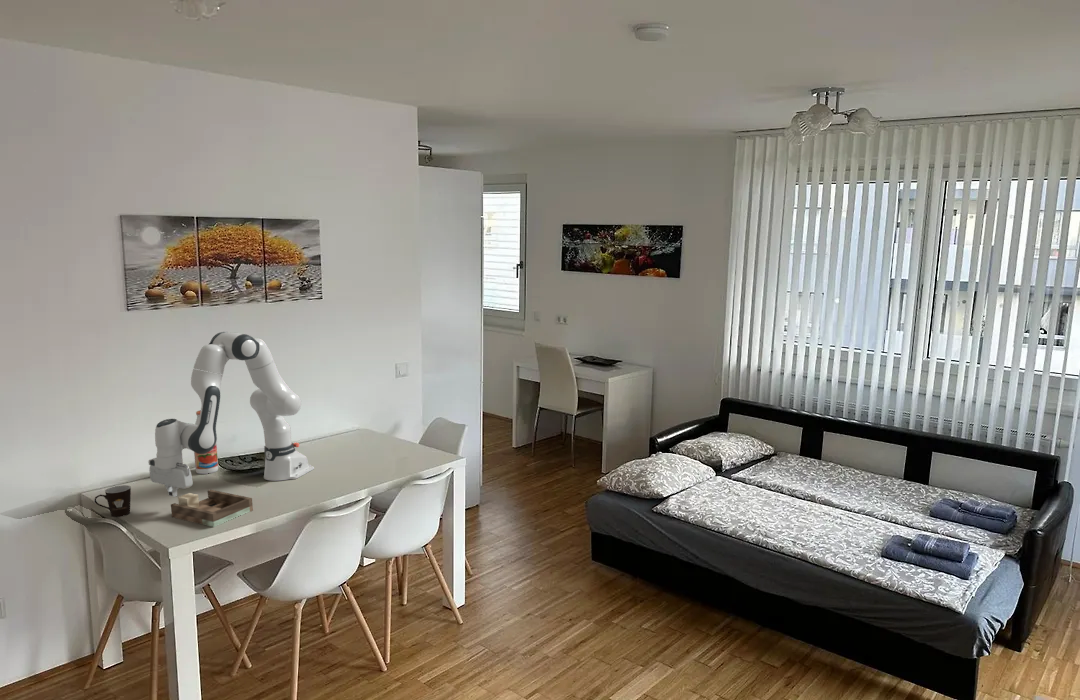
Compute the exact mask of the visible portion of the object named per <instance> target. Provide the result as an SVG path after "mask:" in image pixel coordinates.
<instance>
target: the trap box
mask: <svg viewBox="0 0 1080 700" xmlns="http://www.w3.org/2000/svg"><path fill="white" fill-rule="evenodd" d="M253 505H254V504H253V498H252V497H249V496H244V495H239V494H233V493H228V492H224V491H220V490H214V489H208V490H207V498H205V499H202V500H199V508H193V507H189V506H184V505H180V504H179V503H176V502H174V503H171V504H170V508H171V509H170V510H171V517H172V518H175V519H177V520H183V521H186V522H190V523H196V524H200V525H204V526H208V527H211V528H212V527H213V528H215V527H217V525H218V526H220V525H222V524H225V523H227V522H229V521H231V519H232V520H234V519H236V518H239V517H241V516H243V515H246V514H248V513H251V512H252V511H254V507H253ZM245 513H246V514H245ZM240 515H241V516H240ZM238 516H239V517H238ZM235 517H236V518H235ZM233 518H234V519H233ZM228 520H229V521H228ZM226 521H227V522H226ZM224 522H225V523H224Z"/></svg>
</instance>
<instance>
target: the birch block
mask: <svg viewBox="0 0 1080 700" xmlns="http://www.w3.org/2000/svg"><path fill="white" fill-rule="evenodd" d="M199 499H200V498H199V494H197V493H196V494H195V493H191V492H188V493H185V494H182V495H180V496H178V497H177V501H178V504H180V505H184V506H189V507H193V508H199V501H200V500H199Z"/></svg>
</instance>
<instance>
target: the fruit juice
mask: <svg viewBox="0 0 1080 700" xmlns="http://www.w3.org/2000/svg"><path fill="white" fill-rule="evenodd" d="M200 412H201V409H200V410H197V411H195V414H196V415H195V416H196V419H195V420H196V421H195V423H194V424H195V425H198V424H199V418H200ZM217 445H218V444H217V443H216V444H215V446H214V448H213V449H212V450H211V451H209V452H207V453H205V454H198V453H196V452H194V451H193V454H194V464H195V465H194V466H195V472H196V473H197V474H199V475H208V473H209V474H213V473H216V472H217V471H218V470H219V461H218V459H219V458H218V447H217Z"/></svg>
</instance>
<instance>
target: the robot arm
mask: <svg viewBox="0 0 1080 700" xmlns="http://www.w3.org/2000/svg"><path fill="white" fill-rule="evenodd" d="M229 360H237V361H244V362H245V364H246V368H247V371H248V372H249V376H250V379H251V380H252V383H253V384H254V386H255V387H256V388H258V389H255V390H254V391H253V392H252V393H251V395H250V398H249V404H250V407H251V408H252V409H253V410H254V411H255V413H256V414H257V416H258V418H259V420H260V423H261V426H262V430H263V436H264V437H263V438H264V446H263V447H264V448H263V449H264V452H263V453H264V456H265V459H264V460H265V462H264V473H263V474H264V475H263V480H267V481H272V482H274V481H276V482H277V481H285V480H296V479H298V478H300V477H302V476H304V475H306V474H307V473H310V472H311V471H313V470H315V467H314V466H313V465H312V464H310V463H309V461H308V457H307V456H306V455H304V453H301V452H299V451H298V450H297V449H296V448H299V447H300V443H299V442H294V443H293V442H292V431H291V425H290V424H289V423H288V422H287V421H286V419H285V417H288V416H289V417H290V416H294V415H296V414H298V413H299V411H300V409H301V406H302V400H301V397H300V396H299V395H298V394H297V393H296V392H294V391H293V390H292V389H291V388H290V387H289V385H288V384H287V383H286V382H285V380H284V378H283V377H282V376H281V374H280V372H279V369H278V367H277V364H276V362H275V359H274V356H273V354H272V352H271V350H270V348H269V346H268V345H267V343H266V342H265V341H264V340H263V339H261V338H260V337H259V338H258V337H253V336H251V335H249V334H246V333H245V334H244V333H241V332H228V331H221V332H218V333H216V334H215V335H214V336H213V337H212V338H211V340H210V342H208V344H205V345H203V346H202V347H201V349H200V350H199V352H198V355H197V357H196V359H195V362H194V365H193V368H192V373H191V377H190V386H191V388H192V389H193V391H194V392H195V393H196V394H197V395H198V397H199V399H200V402H201V407H200V410H201V412H200V418H199V424H198V425H195V423H187V422H183V421H181V420H178V419H176V418H168V419H163V420H161V421H159V422H158V423H157V424H156V425H155V430H154V431H155V432H154V439H155V446H156V457H154V458H150V459H149V460H148V461H147V462H148V465H149V470H148V471H149V478H150V481H151V482H152V483H155V484H161V485H164V487H165V489H166V491H167V495H168V496H169V497H173V498H174V497H177V496H178V490H179V488H180V489H188V488H191V487H192V486H193V484H194V483H193V477H192V472H191V471H192V470H191V469H190V467H189V466H187V464H186V463H184V462H183V459H184V458H183V450H185V449H187V450H190V451H192V452H193V453H194V452H196V453H198V454H205V453H207V452H209V451H211V450H212V449H213V448H214V446H215V444H216V445H217V442H218V441H217V440H218V437H217V423H218V417H219V409H220V402H221V385H222V379H223V375H224V371H225V367H226V364H227V363H228V361H229Z"/></svg>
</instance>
